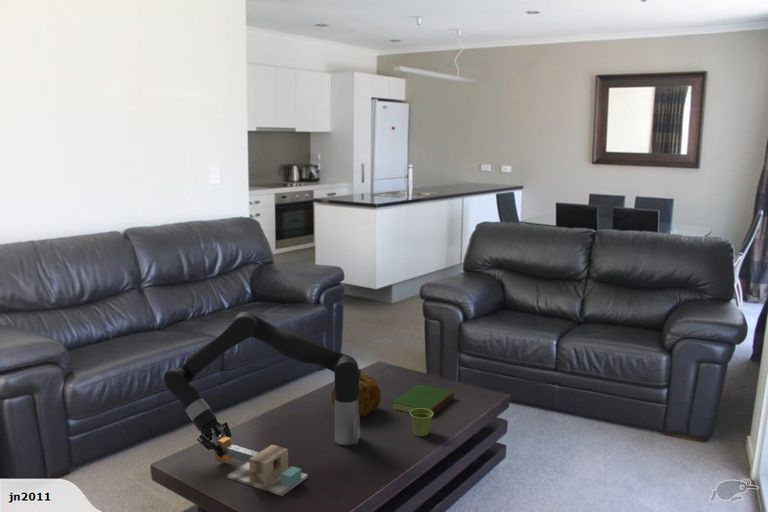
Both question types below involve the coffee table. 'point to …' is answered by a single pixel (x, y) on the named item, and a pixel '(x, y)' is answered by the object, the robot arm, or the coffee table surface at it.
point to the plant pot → (421, 421)
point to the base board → (275, 487)
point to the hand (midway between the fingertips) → (227, 453)
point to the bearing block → (268, 464)
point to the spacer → (291, 476)
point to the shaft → (232, 451)
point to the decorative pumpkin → (365, 394)
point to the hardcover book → (423, 399)
